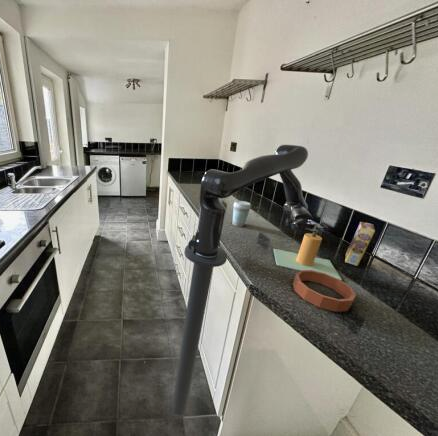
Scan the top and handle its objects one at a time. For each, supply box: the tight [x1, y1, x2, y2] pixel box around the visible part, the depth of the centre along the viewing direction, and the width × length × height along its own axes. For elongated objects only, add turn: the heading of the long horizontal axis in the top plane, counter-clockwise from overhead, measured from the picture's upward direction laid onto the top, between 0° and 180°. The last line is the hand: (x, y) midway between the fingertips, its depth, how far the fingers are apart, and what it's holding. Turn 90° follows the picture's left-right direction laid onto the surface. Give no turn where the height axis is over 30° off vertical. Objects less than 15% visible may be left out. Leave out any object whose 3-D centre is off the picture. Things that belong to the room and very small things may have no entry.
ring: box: [292, 270, 357, 313], centre depth 71 cm, size 15×15×4 cm
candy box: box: [344, 221, 376, 267], centre depth 90 cm, size 9×4×15 cm, turn 140°
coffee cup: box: [231, 200, 252, 227], centre depth 120 cm, size 8×9×12 cm
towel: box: [272, 248, 343, 281], centre depth 88 cm, size 20×14×1 cm
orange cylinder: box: [296, 231, 323, 266], centre depth 86 cm, size 5×5×12 cm
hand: (309, 231), depth 89 cm, fingers open, 8 cm apart
